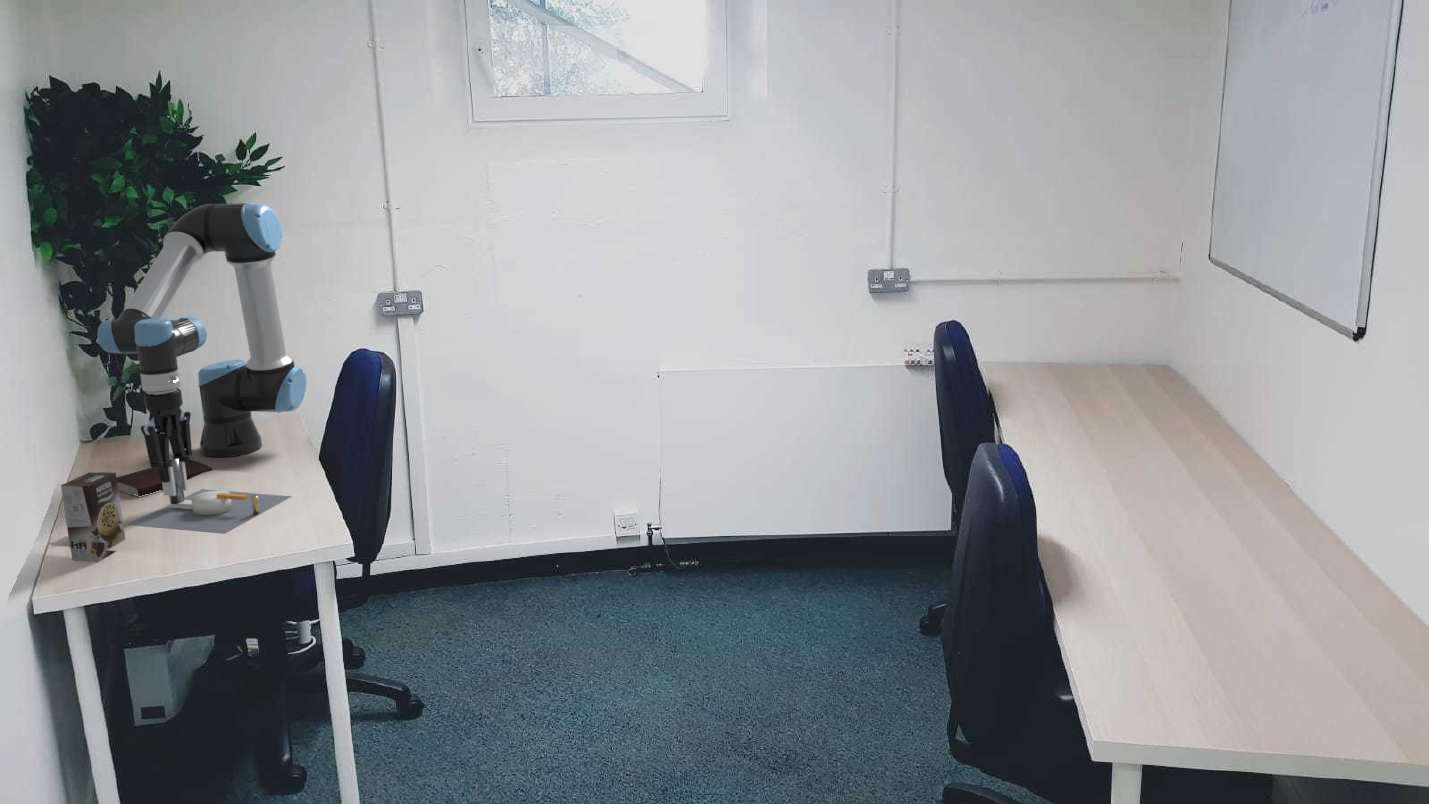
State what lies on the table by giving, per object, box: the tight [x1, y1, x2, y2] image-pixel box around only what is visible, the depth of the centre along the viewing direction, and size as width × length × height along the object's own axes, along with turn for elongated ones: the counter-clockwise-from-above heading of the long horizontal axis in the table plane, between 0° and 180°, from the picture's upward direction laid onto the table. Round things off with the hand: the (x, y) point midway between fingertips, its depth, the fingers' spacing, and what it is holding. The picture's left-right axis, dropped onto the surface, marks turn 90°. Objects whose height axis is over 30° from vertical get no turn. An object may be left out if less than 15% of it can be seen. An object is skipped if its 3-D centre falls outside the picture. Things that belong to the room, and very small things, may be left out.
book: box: [116, 459, 214, 496], centre depth 291 cm, size 12×19×3 cm, turn 145°
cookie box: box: [60, 471, 126, 563], centre depth 245 cm, size 9×6×16 cm
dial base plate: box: [128, 488, 292, 534], centre depth 267 cm, size 24×24×6 cm
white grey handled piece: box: [168, 456, 248, 516], centre depth 266 cm, size 20×8×11 cm, turn 75°
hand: (176, 492), depth 268 cm, fingers open, 3 cm apart
